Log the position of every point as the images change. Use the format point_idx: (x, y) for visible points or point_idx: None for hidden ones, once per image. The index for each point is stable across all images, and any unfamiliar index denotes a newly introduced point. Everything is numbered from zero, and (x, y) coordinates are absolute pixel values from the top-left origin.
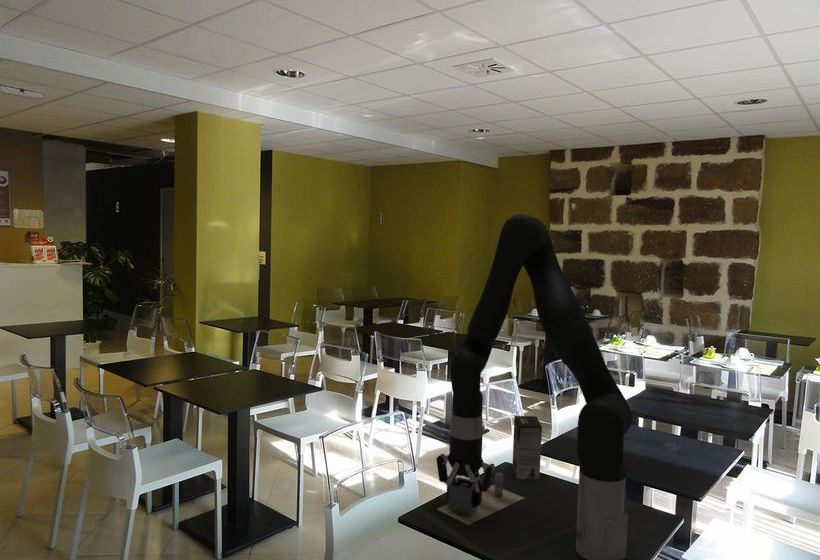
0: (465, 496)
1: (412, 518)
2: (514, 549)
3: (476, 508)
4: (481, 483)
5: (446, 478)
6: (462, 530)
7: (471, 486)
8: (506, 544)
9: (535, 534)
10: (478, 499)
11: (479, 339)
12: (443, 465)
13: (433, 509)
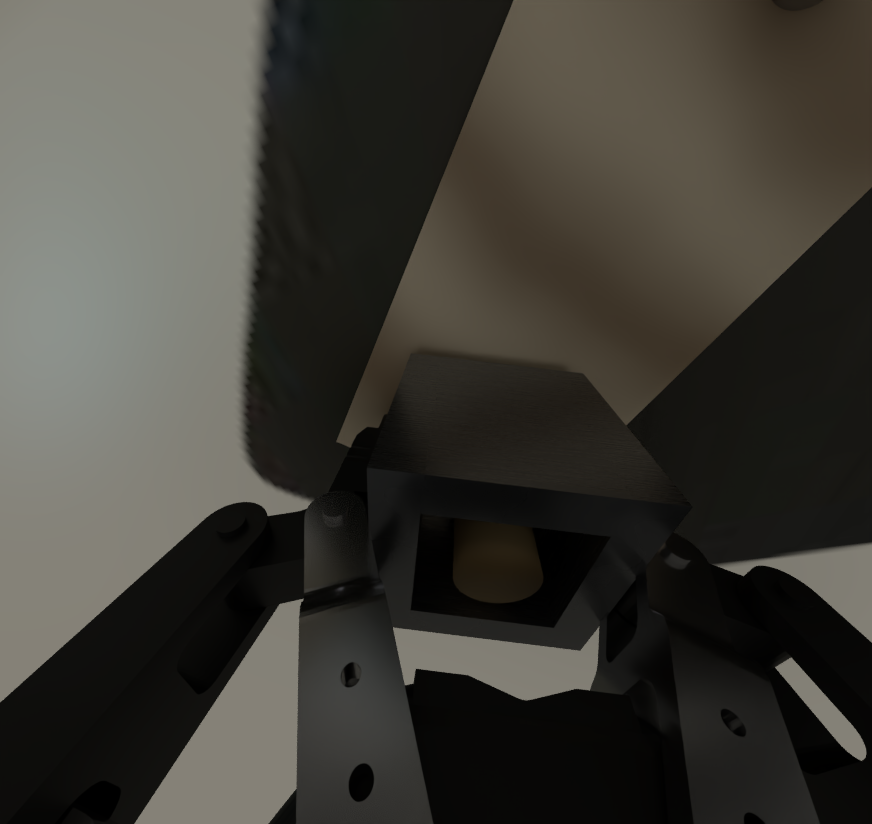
0: None
1: (276, 474)
2: (705, 552)
3: (555, 361)
4: (710, 602)
5: (293, 597)
6: None
7: (575, 605)
8: None
9: (868, 441)
10: None
11: None
12: (105, 779)
13: (305, 372)
